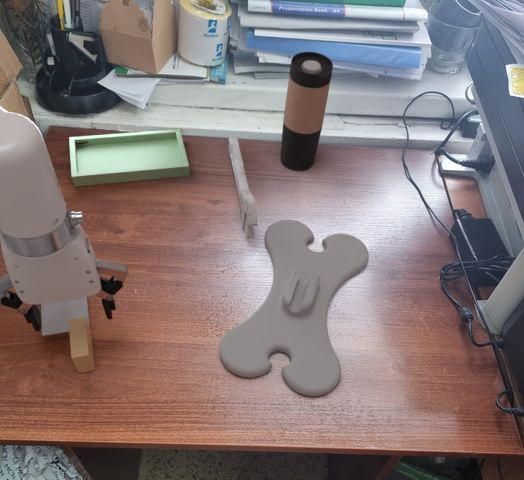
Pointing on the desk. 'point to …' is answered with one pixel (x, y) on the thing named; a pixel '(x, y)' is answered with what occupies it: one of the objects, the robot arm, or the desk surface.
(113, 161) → the tray
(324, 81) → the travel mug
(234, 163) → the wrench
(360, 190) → the desk surface
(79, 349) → the cleaver
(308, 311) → the holder
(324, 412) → the desk surface
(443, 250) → the desk surface
